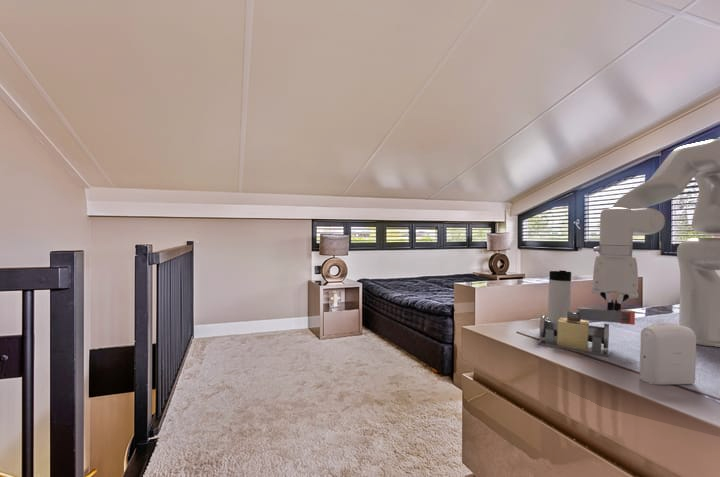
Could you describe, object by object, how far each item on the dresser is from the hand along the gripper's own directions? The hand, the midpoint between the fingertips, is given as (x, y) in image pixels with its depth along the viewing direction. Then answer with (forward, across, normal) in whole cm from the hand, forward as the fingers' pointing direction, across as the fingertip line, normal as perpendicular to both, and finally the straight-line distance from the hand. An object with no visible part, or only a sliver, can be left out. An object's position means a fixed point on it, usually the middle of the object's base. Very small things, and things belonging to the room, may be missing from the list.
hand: (613, 316), depth 98 cm
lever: (+1, -3, -6) cm, 7 cm away
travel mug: (+9, -14, +8) cm, 18 cm away
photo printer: (+8, +8, -24) cm, 27 cm away
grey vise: (+8, -9, -8) cm, 15 cm away
